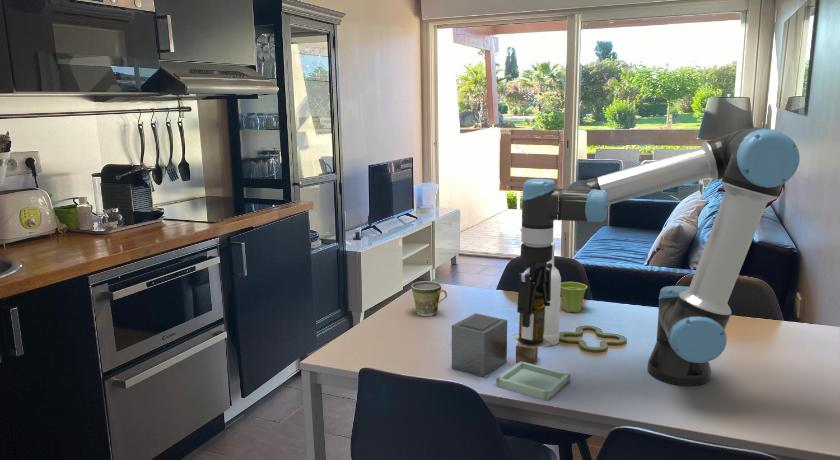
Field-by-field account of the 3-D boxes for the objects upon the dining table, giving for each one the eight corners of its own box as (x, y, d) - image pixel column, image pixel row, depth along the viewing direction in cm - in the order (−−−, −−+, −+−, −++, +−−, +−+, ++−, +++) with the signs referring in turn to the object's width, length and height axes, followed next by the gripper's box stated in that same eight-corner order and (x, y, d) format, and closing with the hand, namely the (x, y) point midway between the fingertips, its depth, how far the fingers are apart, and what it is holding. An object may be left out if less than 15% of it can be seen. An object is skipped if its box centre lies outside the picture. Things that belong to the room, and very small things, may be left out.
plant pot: (568, 303, 219) (569, 280, 218) (591, 310, 213) (592, 285, 211) (552, 310, 213) (552, 285, 211) (575, 316, 206) (576, 291, 205)
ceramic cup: (406, 315, 210) (405, 286, 208) (422, 307, 218) (422, 279, 216) (438, 322, 203) (438, 292, 201) (454, 313, 211) (454, 285, 209)
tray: (569, 381, 159) (570, 374, 158) (547, 400, 149) (547, 393, 148) (520, 368, 167) (520, 361, 167) (496, 385, 157) (496, 378, 156)
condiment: (538, 333, 160) (540, 288, 157) (553, 345, 152) (555, 298, 149) (511, 336, 158) (512, 290, 156) (525, 348, 150) (526, 300, 148)
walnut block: (537, 358, 173) (537, 341, 172) (533, 365, 169) (534, 348, 168) (519, 356, 175) (520, 339, 174) (515, 363, 171) (515, 345, 170)
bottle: (536, 334, 191) (538, 238, 185) (561, 338, 187) (565, 240, 181) (528, 343, 184) (530, 244, 178) (555, 347, 180) (558, 246, 174)
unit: (506, 361, 171) (507, 319, 169) (484, 377, 162) (484, 332, 159) (474, 353, 177) (474, 312, 175) (450, 367, 168) (450, 324, 165)
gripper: (540, 235, 160) (536, 320, 165) (503, 248, 145) (501, 342, 150) (567, 238, 156) (563, 326, 161) (533, 253, 141) (529, 350, 146)
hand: (533, 334), depth 155 cm, fingers closed on condiment, 6 cm apart
